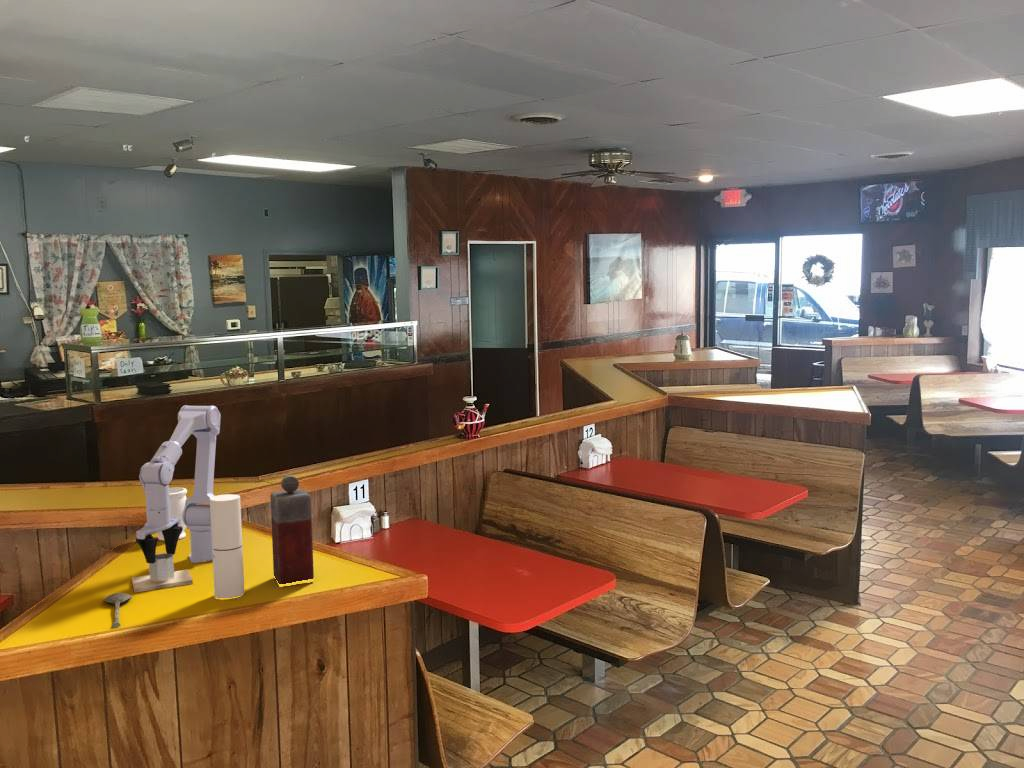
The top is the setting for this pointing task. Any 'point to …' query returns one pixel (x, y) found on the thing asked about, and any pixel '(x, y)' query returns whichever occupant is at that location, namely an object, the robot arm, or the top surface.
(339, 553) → the top surface
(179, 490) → the jar
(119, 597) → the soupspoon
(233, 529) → the cylindrical container
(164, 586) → the board
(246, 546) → the top surface
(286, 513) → the ball-stopper bottle
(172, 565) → the collar
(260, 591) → the top surface
